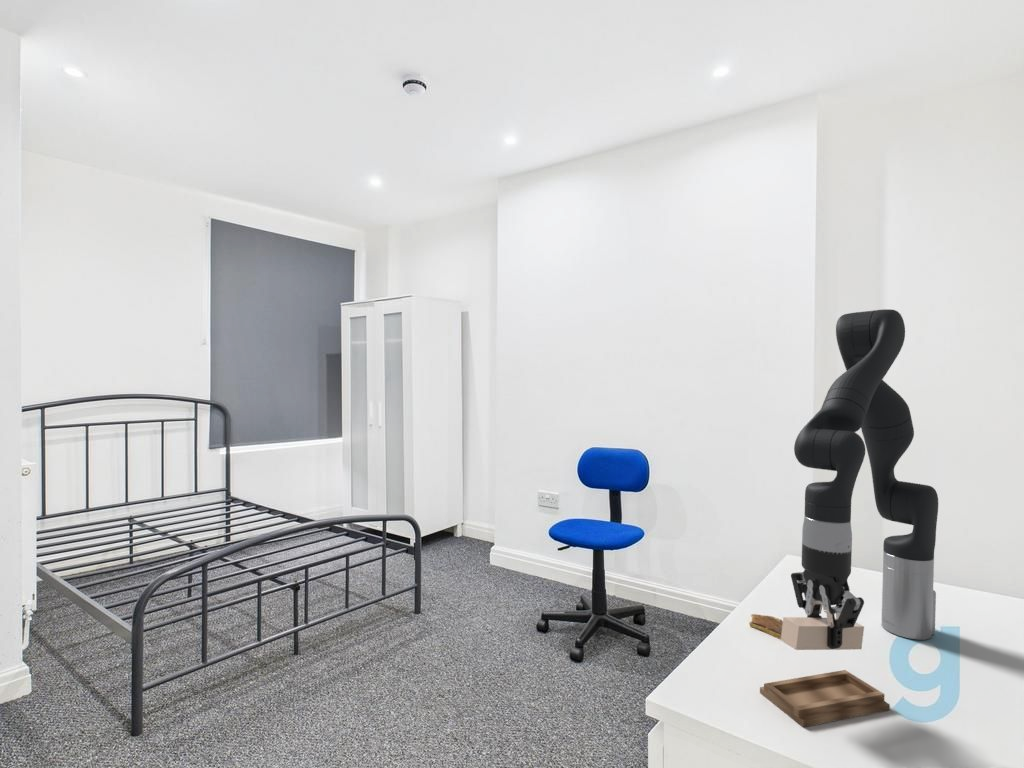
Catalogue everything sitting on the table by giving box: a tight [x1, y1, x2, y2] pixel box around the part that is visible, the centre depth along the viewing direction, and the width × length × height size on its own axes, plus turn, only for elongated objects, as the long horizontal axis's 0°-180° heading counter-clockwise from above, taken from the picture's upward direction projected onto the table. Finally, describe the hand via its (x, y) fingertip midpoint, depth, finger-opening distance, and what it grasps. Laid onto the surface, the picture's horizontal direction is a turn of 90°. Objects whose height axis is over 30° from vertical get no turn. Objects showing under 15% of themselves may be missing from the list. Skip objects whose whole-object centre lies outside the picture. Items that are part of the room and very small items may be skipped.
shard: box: [749, 613, 783, 640], centre depth 123 cm, size 11×8×2 cm
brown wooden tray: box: [759, 669, 891, 728], centre depth 97 cm, size 18×10×2 cm, turn 106°
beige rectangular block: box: [780, 616, 865, 651], centre depth 96 cm, size 14×4×4 cm, turn 106°
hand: (823, 641), depth 97 cm, fingers closed on beige rectangular block, 3 cm apart
